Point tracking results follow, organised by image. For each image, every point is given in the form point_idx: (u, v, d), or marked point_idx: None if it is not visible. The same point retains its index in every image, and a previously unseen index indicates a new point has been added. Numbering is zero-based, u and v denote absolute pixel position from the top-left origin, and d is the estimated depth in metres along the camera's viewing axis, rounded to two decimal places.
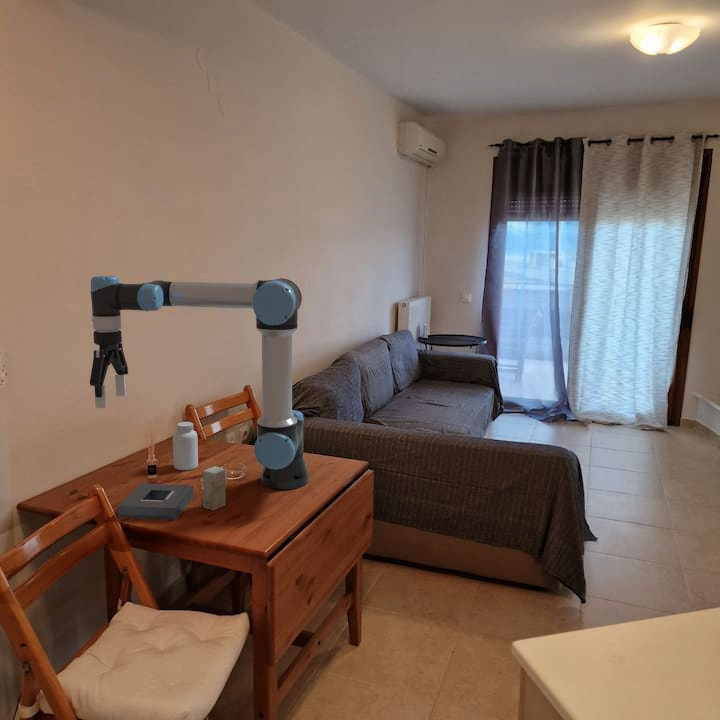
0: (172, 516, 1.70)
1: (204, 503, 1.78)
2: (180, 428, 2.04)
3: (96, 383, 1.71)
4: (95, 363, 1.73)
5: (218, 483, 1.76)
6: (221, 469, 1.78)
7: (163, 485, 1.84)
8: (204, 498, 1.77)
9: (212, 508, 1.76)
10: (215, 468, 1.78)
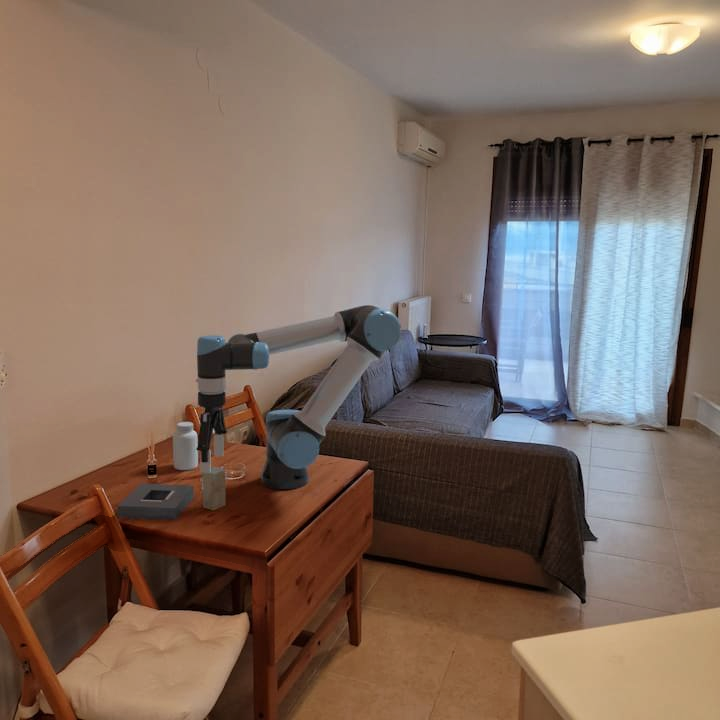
0: (172, 516, 1.70)
1: (204, 503, 1.78)
2: (180, 428, 2.04)
3: (204, 449, 1.65)
4: (202, 428, 1.67)
5: (218, 483, 1.76)
6: (221, 469, 1.78)
7: (163, 485, 1.84)
8: (204, 498, 1.77)
9: (212, 508, 1.76)
10: (215, 468, 1.78)
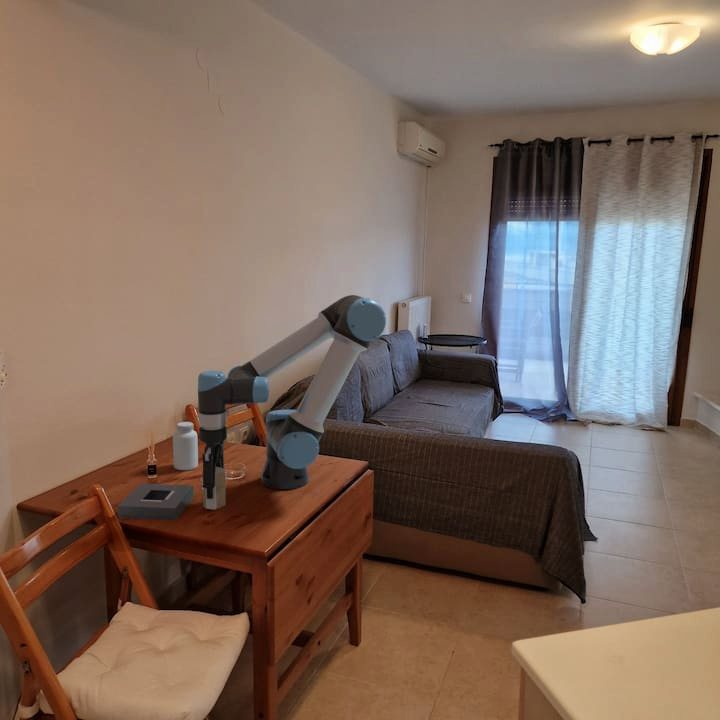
0: (172, 516, 1.70)
1: (204, 503, 1.78)
2: (180, 428, 2.04)
3: (209, 486, 1.71)
4: (205, 467, 1.70)
5: (218, 483, 1.76)
6: (221, 469, 1.78)
7: (163, 485, 1.84)
8: (204, 498, 1.77)
9: None
10: None
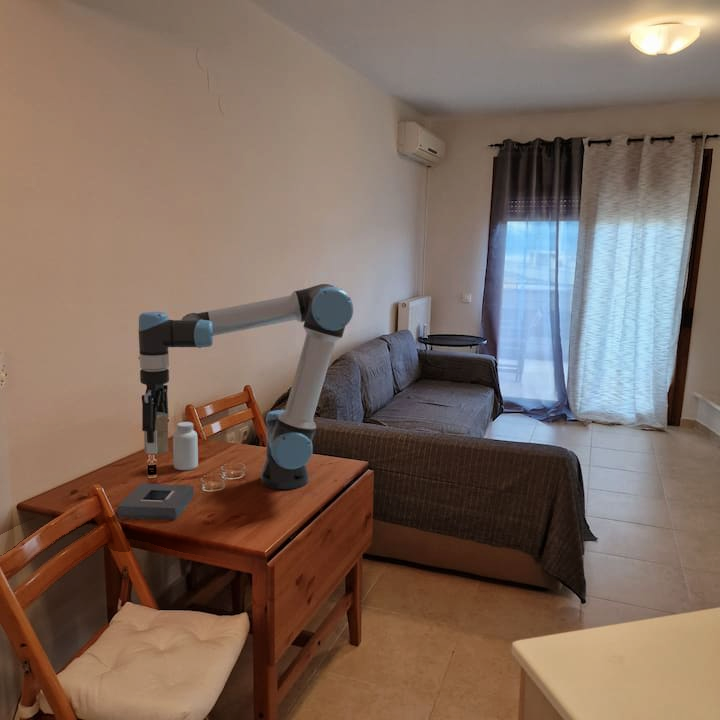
0: (172, 516, 1.70)
1: (145, 448, 1.73)
2: (180, 428, 2.04)
3: (149, 429, 1.66)
4: (145, 409, 1.66)
5: (160, 428, 1.72)
6: (163, 414, 1.73)
7: (163, 485, 1.84)
8: (145, 443, 1.73)
9: None
10: (157, 413, 1.74)
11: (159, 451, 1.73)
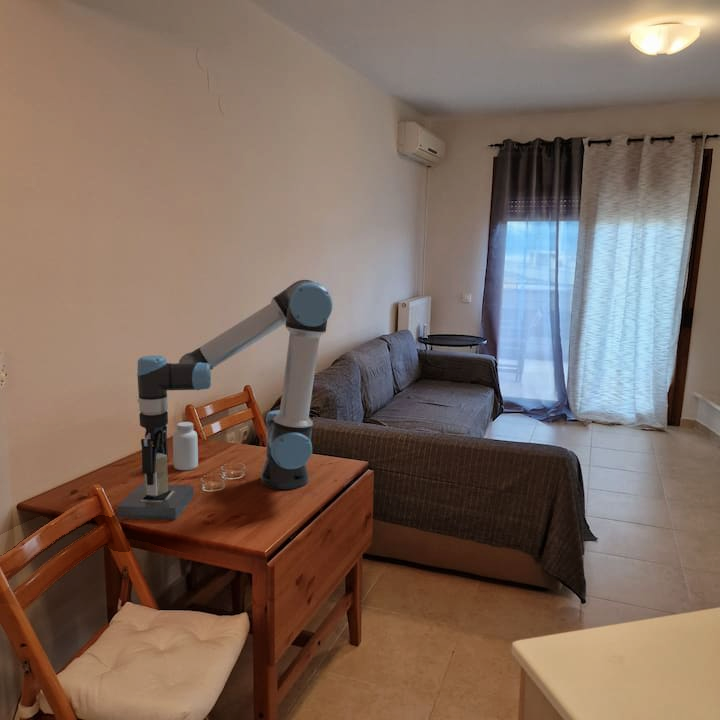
0: (172, 516, 1.70)
1: (145, 489, 1.75)
2: (180, 428, 2.04)
3: (149, 472, 1.69)
4: (144, 452, 1.68)
5: (159, 469, 1.74)
6: (163, 455, 1.76)
7: None
8: (145, 484, 1.75)
9: None
10: (157, 454, 1.76)
11: (159, 492, 1.75)
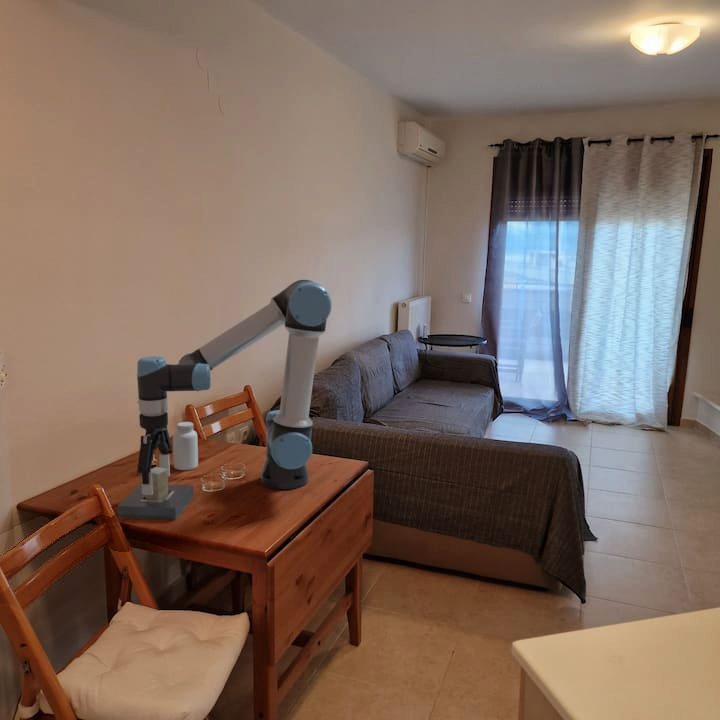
0: (172, 516, 1.70)
1: None
2: (180, 428, 2.04)
3: (144, 471, 1.65)
4: (142, 450, 1.67)
5: (162, 483, 1.75)
6: (163, 469, 1.77)
7: None
8: (147, 499, 1.75)
9: None
10: (157, 468, 1.77)
11: None
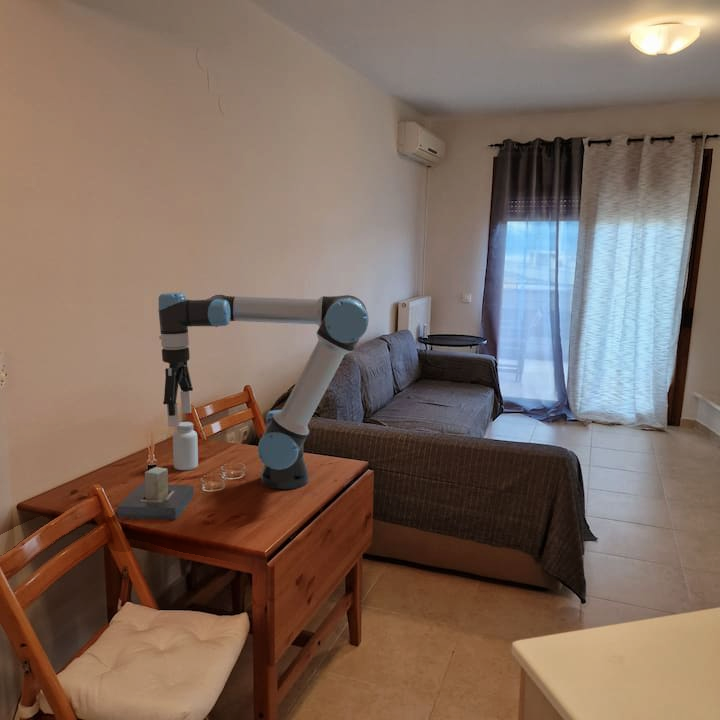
0: (172, 516, 1.70)
1: None
2: (180, 428, 2.04)
3: (170, 401, 1.70)
4: (168, 381, 1.71)
5: (162, 483, 1.75)
6: (163, 469, 1.77)
7: None
8: None
9: None
10: (157, 468, 1.77)
11: None
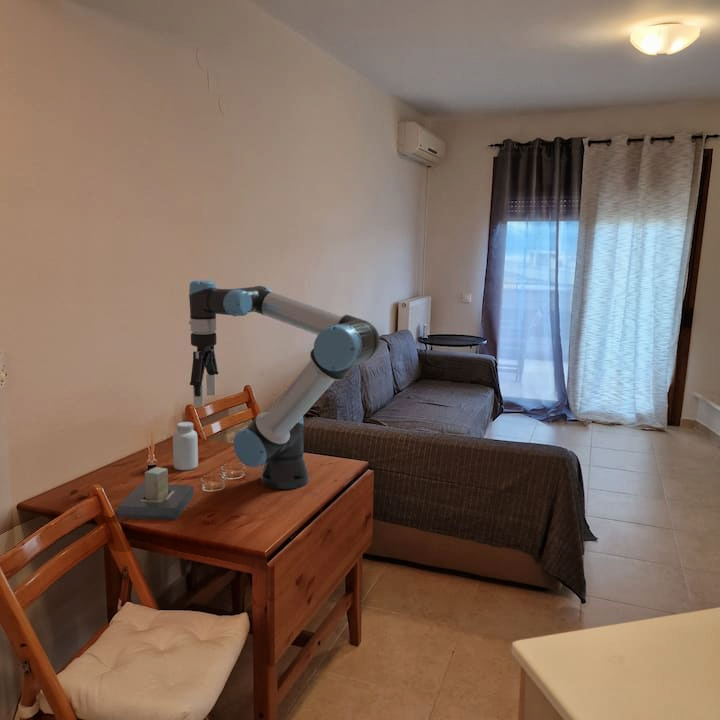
0: (172, 516, 1.70)
1: None
2: (180, 428, 2.04)
3: (197, 383, 1.80)
4: (195, 364, 1.81)
5: (162, 483, 1.75)
6: (163, 469, 1.77)
7: None
8: None
9: None
10: (157, 468, 1.77)
11: None
